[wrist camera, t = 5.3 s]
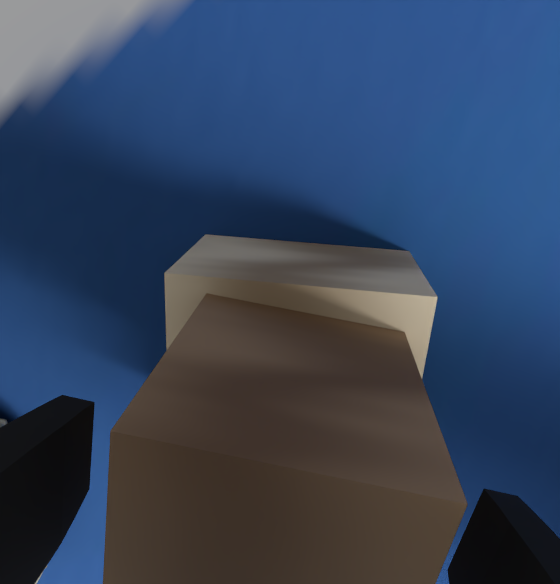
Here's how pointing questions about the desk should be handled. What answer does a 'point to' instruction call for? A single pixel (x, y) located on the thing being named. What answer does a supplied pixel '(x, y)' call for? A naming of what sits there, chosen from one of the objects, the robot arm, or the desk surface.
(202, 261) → the beech base
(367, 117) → the desk surface
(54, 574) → the desk surface
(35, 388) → the desk surface
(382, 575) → the walnut block
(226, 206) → the desk surface
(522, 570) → the robot arm
